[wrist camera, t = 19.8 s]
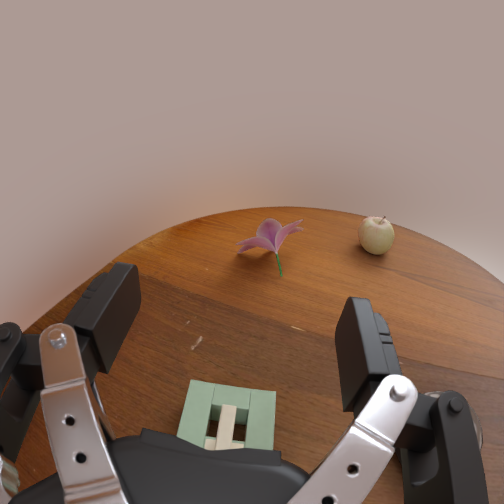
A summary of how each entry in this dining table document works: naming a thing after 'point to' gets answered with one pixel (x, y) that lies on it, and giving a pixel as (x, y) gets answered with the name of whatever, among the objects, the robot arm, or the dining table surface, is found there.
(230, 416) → the cream offset-tab post
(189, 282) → the dining table surface
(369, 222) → the fruit
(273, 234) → the lily
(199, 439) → the caddy
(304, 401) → the dining table surface
